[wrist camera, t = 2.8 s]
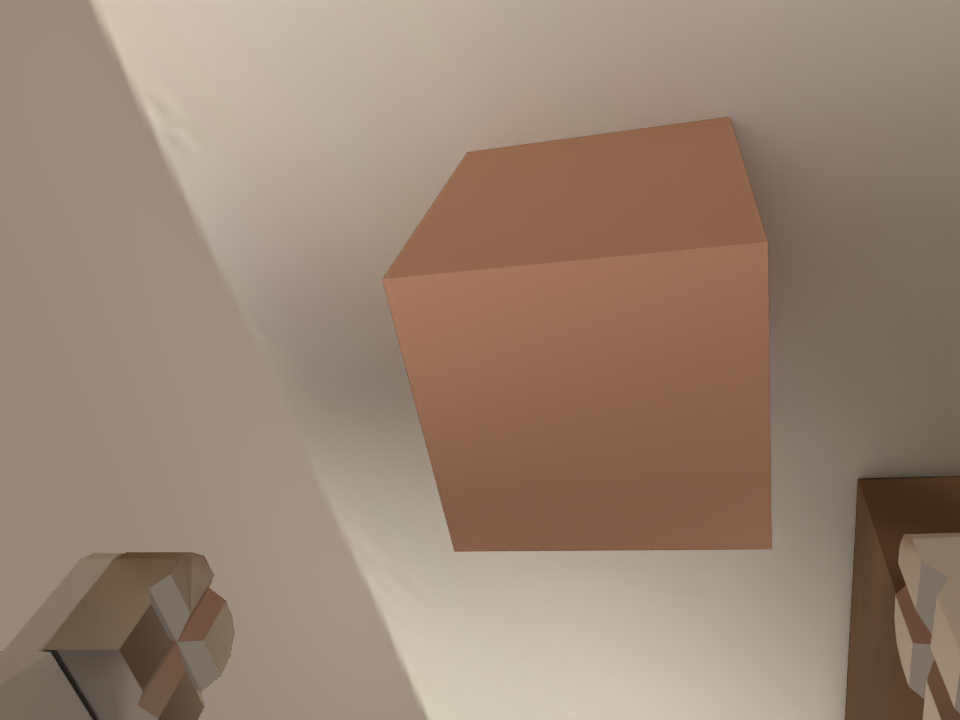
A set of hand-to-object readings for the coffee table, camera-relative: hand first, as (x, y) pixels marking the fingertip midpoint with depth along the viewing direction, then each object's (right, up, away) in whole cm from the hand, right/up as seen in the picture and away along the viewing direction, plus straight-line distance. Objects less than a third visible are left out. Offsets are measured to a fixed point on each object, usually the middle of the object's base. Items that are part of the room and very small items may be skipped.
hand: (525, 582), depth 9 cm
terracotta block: (+2, +5, +7) cm, 9 cm away
